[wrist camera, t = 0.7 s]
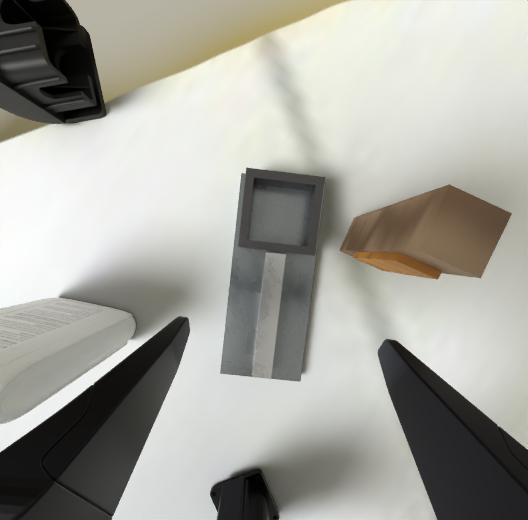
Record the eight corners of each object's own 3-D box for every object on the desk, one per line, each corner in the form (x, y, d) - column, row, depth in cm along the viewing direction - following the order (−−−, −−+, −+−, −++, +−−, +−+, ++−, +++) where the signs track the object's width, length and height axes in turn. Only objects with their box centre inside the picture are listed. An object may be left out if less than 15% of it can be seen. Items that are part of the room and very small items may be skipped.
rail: (298, 375, 23) (304, 394, 20) (222, 367, 22) (216, 386, 19) (322, 186, 21) (332, 176, 18) (242, 176, 21) (239, 164, 18)
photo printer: (44, 328, 22) (-238, 430, 10) (50, 292, 22) (-230, 347, 9) (134, 346, 22) (-28, 468, 10) (140, 310, 22) (-16, 388, 10)
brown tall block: (368, 269, 22) (476, 287, 11) (337, 255, 22) (414, 259, 11) (385, 232, 22) (511, 213, 11) (354, 218, 22) (449, 184, 11)
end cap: (22, 37, 20) (-97, -68, 14) (88, 26, 20) (2, -85, 14) (44, 133, 21) (-60, 77, 14) (108, 122, 21) (36, 61, 14)
